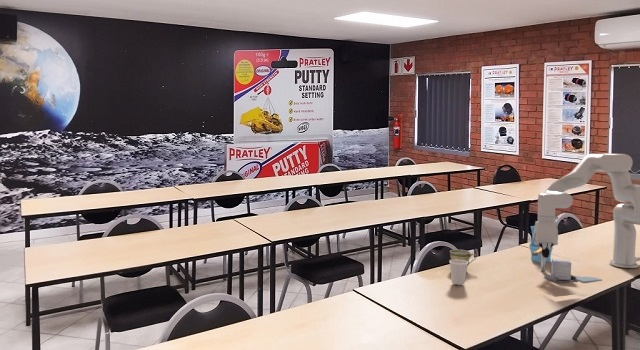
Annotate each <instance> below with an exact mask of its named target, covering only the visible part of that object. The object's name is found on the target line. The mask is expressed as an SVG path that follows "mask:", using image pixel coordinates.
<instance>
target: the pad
mask: <svg viewBox="0 0 640 350" xmlns="http://www.w3.org/2000/svg"><path fill="white" fill-rule="evenodd" d="M575 276H576V275H575ZM576 280H578V281H579V282H581V283H583V284H584V283H593V282H600V281H603V279H601V278H599V277H594V276H583V277H581V276H580V275H577V276H576ZM578 281H577V282H578Z"/></svg>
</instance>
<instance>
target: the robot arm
mask: <svg viewBox="0 0 640 350" xmlns="http://www.w3.org/2000/svg"><path fill="white" fill-rule="evenodd" d="M633 163H634V162H633V158H632V157H631V156H630V155H629V154H625V153H611V152H610V153H609V152H607V153H589V154H586V155H584V157H583V158H582V159H581V160H580V162H578V163H577V165H576V166H575V167H574V168H573V169H572V170H571V172H569V173H568V174H566V175H564V176H562V177H561V178H559V179H557V180H555V181H554V182H552V183H551V184H550V186H548V187H547V189H546V190H545V192H541V193H538V196H537V221H536V220H535V223H534V226H535V228H534V240H535V241H534V244H535V245H539V246H540V247H541V248H542V255H543V257H545V258H546V257H547V258H548V256H549V250H550V249H551V247H554V246H557V245H559V242H558V240H559V230H558V223H557V220H559V217H558V216H556V208H557V209H567V208H570V207H571V206H572V205H573V202H574V198H573V196H572V195H571V194H570V193H567V191H568V190H572V189H576V188H579V187H583V186H585V185H586V184H587V183H588V182H589V181H590V180H591V178H592V177H593V176H594V174H596V173H597V172H599V173H601V172H603V173H607V174H608V176H609V177H610V182H611V189H612V195H613V198H614V199H615V201H617V202H621V203H619V204H616V206H614V208H613V209H612V218H613V222H614V223H613V224H614V233H613V254H612V260H609V263H608V264H609V265H611V266H613V267H618V268H623V269H625V268H626V269H636V268H638V267H639V264H638V263H637V262H640V256H639V257H636V243H637V229H636V227H635V225H637V226H640V184H636V183H635V184H634V183H633V182H632V177H631V174H630V172H629V171H630V169H631V168H632V167H633ZM545 243H547V244H546V248H545Z"/></svg>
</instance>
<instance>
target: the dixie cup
mask: <svg viewBox="0 0 640 350" xmlns="http://www.w3.org/2000/svg"><path fill="white" fill-rule="evenodd" d="M467 264H468V262H467V261H465V260H458V259H455V260H451V259H449V267H450V276H451V278H450V279H451V284H453V285H458V286H461V285H465V283H466V276H467V271H466V270H468V267H467Z"/></svg>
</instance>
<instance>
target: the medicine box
mask: <svg viewBox="0 0 640 350" xmlns="http://www.w3.org/2000/svg"><path fill="white" fill-rule="evenodd" d="M550 267H551V269H550V271H551V273H550V276H553V277H556V278H558V281H559V280H561V281H570V280H572V279H571V275H572V262H571V261H570V260H567V259H551V266H550Z"/></svg>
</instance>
